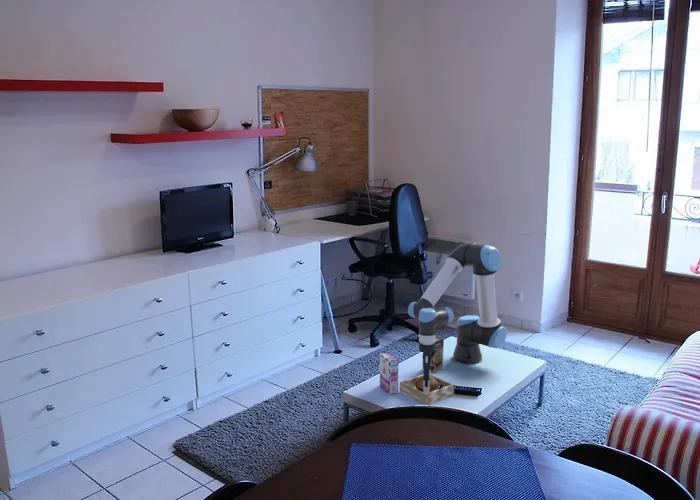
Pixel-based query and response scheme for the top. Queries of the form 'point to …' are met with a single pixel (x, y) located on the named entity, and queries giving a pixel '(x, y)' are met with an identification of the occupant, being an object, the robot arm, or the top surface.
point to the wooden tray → (426, 398)
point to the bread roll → (432, 384)
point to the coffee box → (437, 356)
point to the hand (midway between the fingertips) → (426, 387)
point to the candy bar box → (389, 373)
